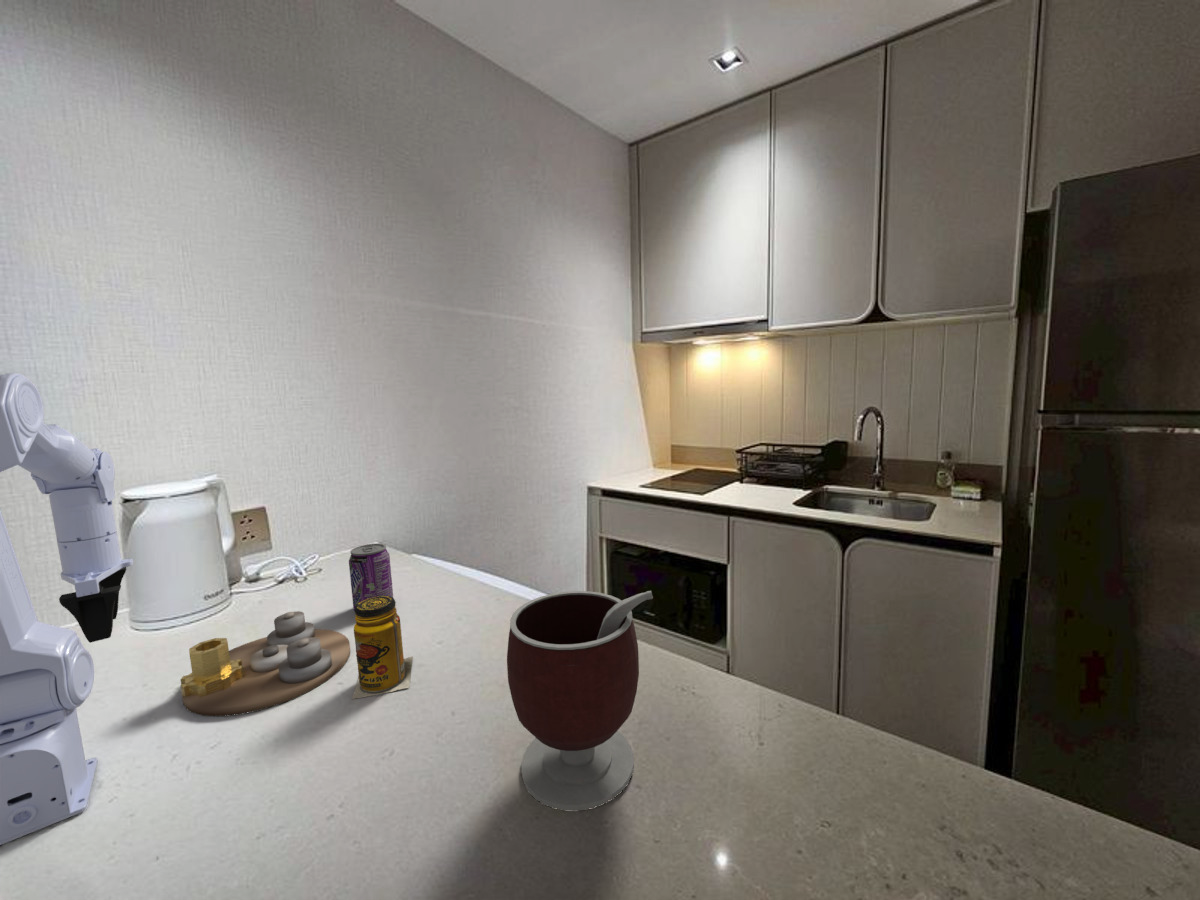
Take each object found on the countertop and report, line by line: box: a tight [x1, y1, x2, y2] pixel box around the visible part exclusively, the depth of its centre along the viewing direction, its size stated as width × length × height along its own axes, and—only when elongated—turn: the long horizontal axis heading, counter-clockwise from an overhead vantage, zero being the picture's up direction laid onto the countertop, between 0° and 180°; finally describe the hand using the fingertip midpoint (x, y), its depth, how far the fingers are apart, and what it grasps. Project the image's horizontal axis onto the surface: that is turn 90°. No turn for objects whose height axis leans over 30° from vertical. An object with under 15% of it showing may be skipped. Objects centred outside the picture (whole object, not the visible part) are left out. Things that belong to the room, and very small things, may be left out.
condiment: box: [351, 596, 414, 700], centre depth 71 cm, size 7×8×12 cm
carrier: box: [181, 610, 351, 717], centre depth 74 cm, size 21×21×6 cm
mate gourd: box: [506, 590, 654, 811], centre depth 52 cm, size 16×14×20 cm
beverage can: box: [348, 543, 394, 612], centre depth 94 cm, size 7×7×12 cm
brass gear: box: [180, 637, 244, 697], centre depth 69 cm, size 7×7×6 cm
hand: (103, 629), depth 69 cm, fingers open, 7 cm apart
